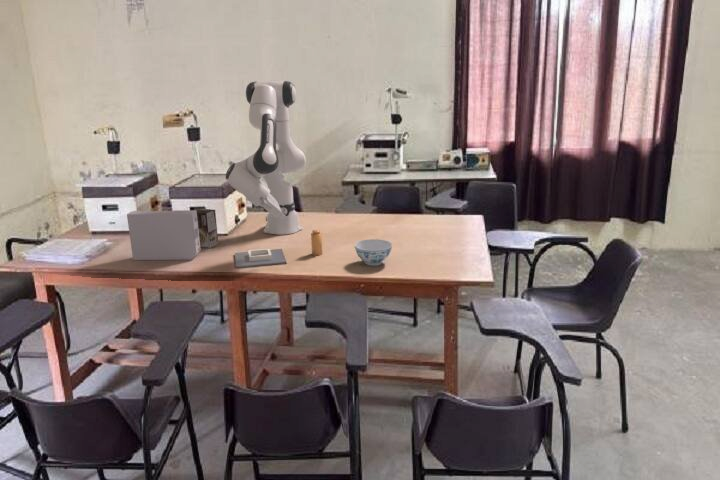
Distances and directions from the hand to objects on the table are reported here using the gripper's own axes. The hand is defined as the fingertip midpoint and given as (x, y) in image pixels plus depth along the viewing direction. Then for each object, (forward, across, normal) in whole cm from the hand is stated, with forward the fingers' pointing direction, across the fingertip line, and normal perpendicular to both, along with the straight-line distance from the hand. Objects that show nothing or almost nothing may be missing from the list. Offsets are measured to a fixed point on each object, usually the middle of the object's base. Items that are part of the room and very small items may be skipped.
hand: (285, 217), depth 242 cm
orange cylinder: (+21, 0, +3) cm, 21 cm away
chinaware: (+35, -18, -10) cm, 41 cm away
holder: (+4, 0, +20) cm, 21 cm away
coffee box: (-12, +27, +36) cm, 46 cm away
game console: (-23, +13, +47) cm, 54 cm away
